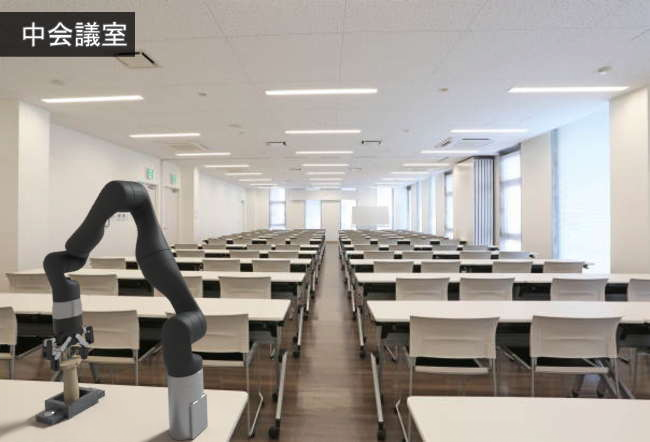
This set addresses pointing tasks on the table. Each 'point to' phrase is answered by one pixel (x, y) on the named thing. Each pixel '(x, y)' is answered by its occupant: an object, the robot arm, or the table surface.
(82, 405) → the bracket
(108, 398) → the table surface
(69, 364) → the handle
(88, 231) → the robot arm
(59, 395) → the chain end
